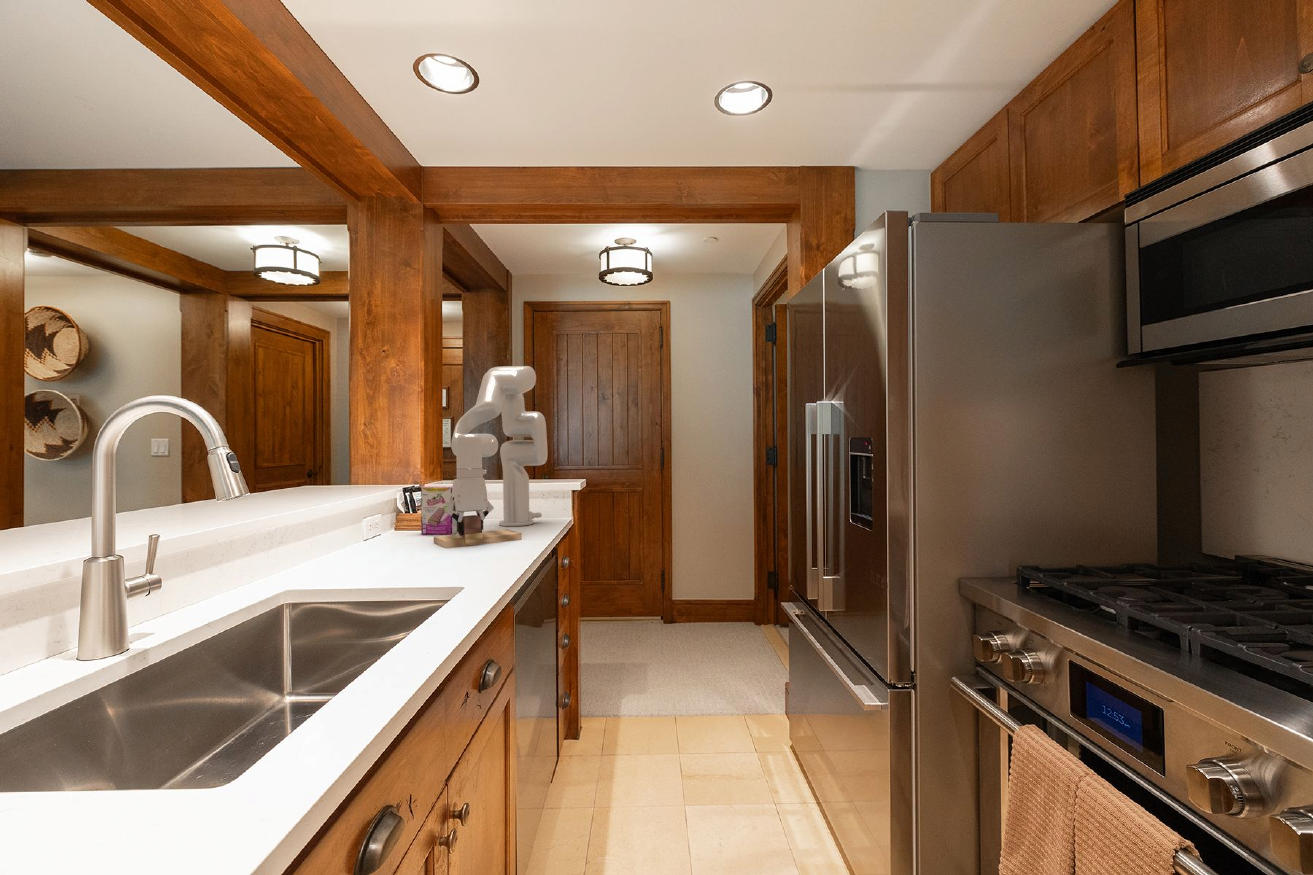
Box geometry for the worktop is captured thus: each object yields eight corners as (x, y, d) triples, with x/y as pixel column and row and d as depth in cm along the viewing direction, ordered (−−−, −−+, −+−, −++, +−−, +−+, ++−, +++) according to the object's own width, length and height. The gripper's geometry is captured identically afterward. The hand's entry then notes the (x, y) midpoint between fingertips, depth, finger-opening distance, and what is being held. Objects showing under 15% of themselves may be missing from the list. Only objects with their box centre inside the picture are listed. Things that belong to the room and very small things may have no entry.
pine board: (506, 534, 204) (506, 528, 204) (521, 539, 195) (521, 533, 195) (433, 542, 190) (433, 536, 190) (445, 548, 181) (445, 541, 181)
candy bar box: (420, 535, 206) (420, 486, 206) (427, 532, 211) (427, 485, 211) (452, 535, 205) (451, 486, 205) (458, 533, 210) (458, 485, 210)
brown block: (475, 538, 191) (475, 515, 191) (482, 541, 186) (482, 516, 186) (459, 540, 188) (459, 516, 188) (466, 543, 183) (465, 518, 183)
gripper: (491, 472, 195) (492, 529, 195) (437, 475, 185) (438, 535, 185) (500, 473, 189) (501, 532, 189) (445, 476, 179) (446, 538, 179)
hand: (470, 532), depth 187 cm, fingers closed on brown block, 5 cm apart
